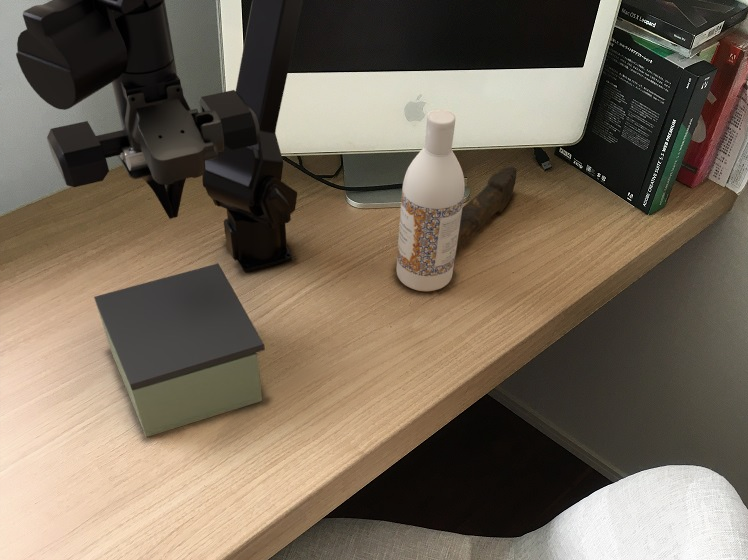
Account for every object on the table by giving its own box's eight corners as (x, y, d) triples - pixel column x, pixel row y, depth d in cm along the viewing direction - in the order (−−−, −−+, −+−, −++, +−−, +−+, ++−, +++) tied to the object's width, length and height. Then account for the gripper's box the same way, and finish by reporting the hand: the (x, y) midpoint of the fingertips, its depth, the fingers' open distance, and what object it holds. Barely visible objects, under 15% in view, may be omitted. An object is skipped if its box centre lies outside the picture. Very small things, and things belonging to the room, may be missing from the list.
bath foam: (387, 264, 98) (397, 104, 81) (437, 252, 99) (457, 94, 83) (409, 298, 94) (424, 138, 78) (461, 286, 96) (486, 127, 80)
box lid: (219, 269, 85) (218, 262, 84) (264, 349, 78) (264, 343, 77) (95, 302, 81) (93, 296, 80) (132, 390, 74) (130, 384, 74)
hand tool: (450, 266, 98) (455, 235, 94) (424, 253, 99) (428, 221, 95) (529, 200, 107) (536, 169, 103) (504, 189, 108) (510, 157, 105)
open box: (220, 321, 90) (212, 273, 85) (262, 401, 83) (257, 354, 78) (111, 351, 87) (95, 303, 81) (146, 437, 80) (132, 390, 74)
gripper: (54, 127, 61) (104, 288, 74) (277, 79, 66) (287, 237, 79) (21, 61, 66) (73, 222, 79) (229, 23, 72) (246, 178, 85)
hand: (172, 216), depth 80 cm, fingers closed
